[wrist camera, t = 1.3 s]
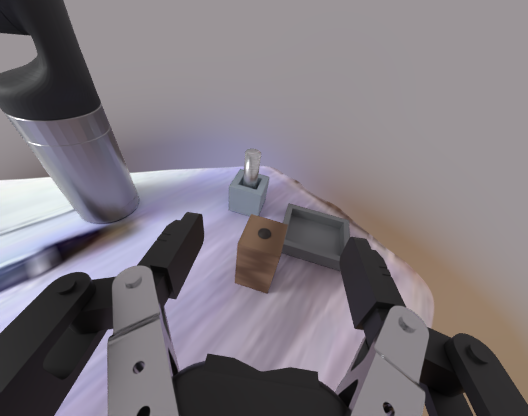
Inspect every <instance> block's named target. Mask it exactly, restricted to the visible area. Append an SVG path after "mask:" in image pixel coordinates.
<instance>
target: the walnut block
mask: <svg viewBox="0 0 528 416" xmlns="http://www.w3.org/2000/svg"><path fill="white" fill-rule="evenodd" d="M287 227H288V225H287V224H284V223H280V222H277V221H273V220H270V219H267V218H263V217H260V216H256V215H253V214H251V215H250V218H249V220H248V222H247V224H246V227H245V229H244V231H243V233H242V235H241V238H240V240H239V242H238V247H237V260H236V274H235V283H237V284H240V285H243V286H246V287H249V288H252V289H255V290H258V291H261V292H264V293H268V290H269V287H270V284H271V281H272V279H273V276H274V273H275V270H276V267H277V264H278V262H279V259H280V256H281V252H282V248H283V243H284V239H285V235H286V231H287Z"/></svg>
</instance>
